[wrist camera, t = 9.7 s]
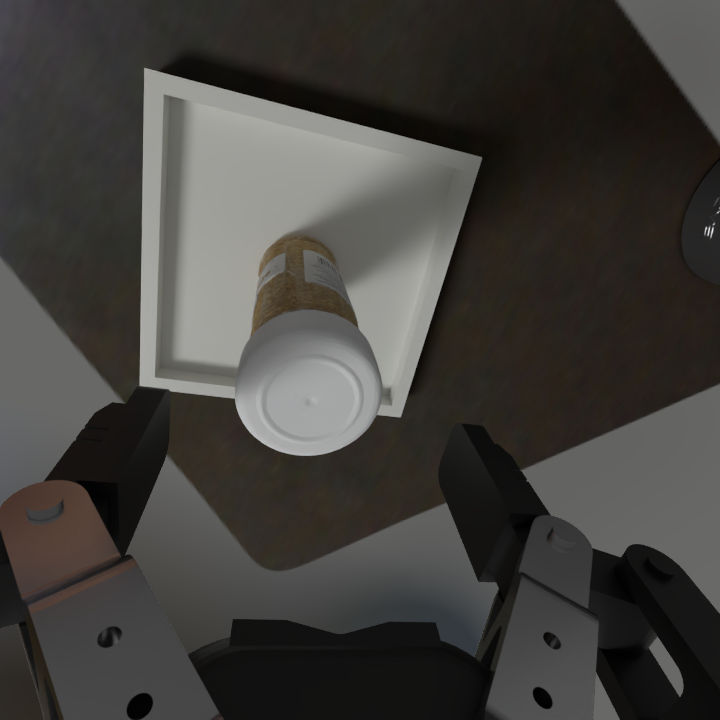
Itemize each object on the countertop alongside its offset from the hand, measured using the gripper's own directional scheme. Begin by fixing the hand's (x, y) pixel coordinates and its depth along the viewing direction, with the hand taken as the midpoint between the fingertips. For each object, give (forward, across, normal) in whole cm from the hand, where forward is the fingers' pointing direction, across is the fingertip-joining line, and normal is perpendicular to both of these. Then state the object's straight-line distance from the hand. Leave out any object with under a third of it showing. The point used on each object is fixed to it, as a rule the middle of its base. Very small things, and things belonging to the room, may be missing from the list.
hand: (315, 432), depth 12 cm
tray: (+15, +1, 0) cm, 15 cm away
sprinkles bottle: (+15, 0, 0) cm, 15 cm away
